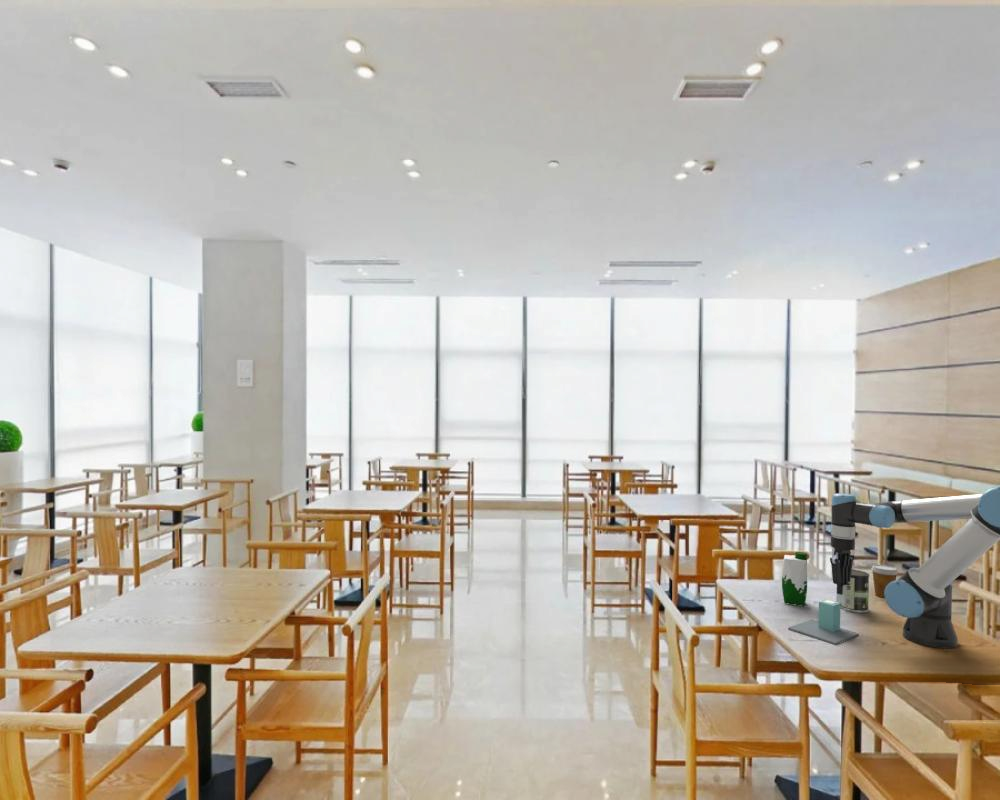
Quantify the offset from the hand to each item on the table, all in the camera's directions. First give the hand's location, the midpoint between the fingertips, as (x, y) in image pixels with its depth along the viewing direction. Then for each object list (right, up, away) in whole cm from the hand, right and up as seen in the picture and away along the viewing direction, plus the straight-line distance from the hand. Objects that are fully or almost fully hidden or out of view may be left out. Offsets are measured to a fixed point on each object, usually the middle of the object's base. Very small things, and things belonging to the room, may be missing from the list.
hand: (841, 602), depth 215 cm
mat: (-11, -8, -8) cm, 15 cm away
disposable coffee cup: (+39, -10, +37) cm, 54 cm away
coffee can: (+16, -9, +19) cm, 26 cm away
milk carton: (-5, -8, +24) cm, 26 cm away
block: (-7, -7, -5) cm, 12 cm away
